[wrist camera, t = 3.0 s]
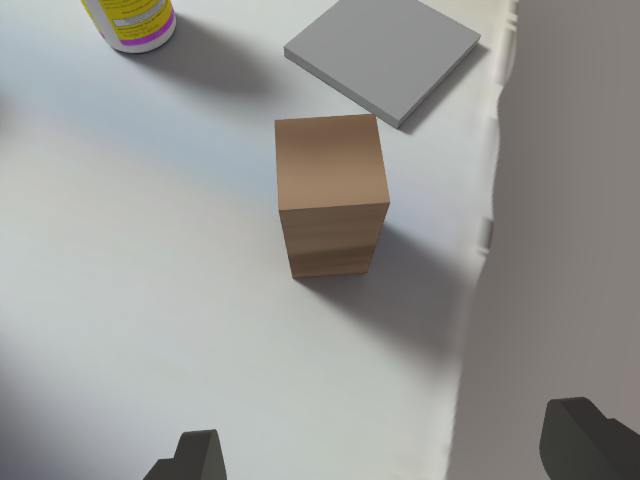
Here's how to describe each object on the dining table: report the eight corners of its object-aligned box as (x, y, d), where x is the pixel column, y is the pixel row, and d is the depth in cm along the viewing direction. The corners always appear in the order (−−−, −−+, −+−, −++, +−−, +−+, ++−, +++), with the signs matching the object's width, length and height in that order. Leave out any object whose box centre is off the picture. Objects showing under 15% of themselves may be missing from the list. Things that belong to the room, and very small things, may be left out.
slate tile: (396, 128, 32) (398, 120, 31) (284, 56, 35) (283, 46, 34) (477, 44, 35) (481, 35, 34) (369, -15, 38) (370, -26, 38)
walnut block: (366, 272, 27) (390, 202, 18) (292, 278, 27) (278, 210, 18) (357, 207, 29) (375, 113, 20) (288, 212, 29) (274, 120, 20)
